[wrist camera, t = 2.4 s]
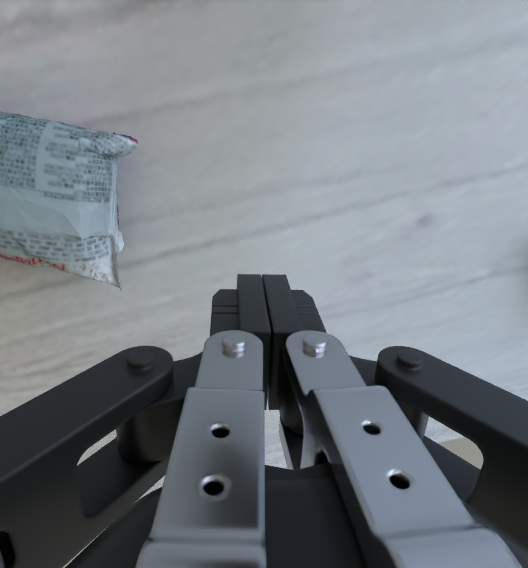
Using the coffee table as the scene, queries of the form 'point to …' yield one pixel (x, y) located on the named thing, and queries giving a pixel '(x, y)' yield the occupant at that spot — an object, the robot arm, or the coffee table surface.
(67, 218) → the packaged food
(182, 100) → the coffee table surface
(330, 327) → the coffee table surface
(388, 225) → the coffee table surface
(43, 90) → the coffee table surface
